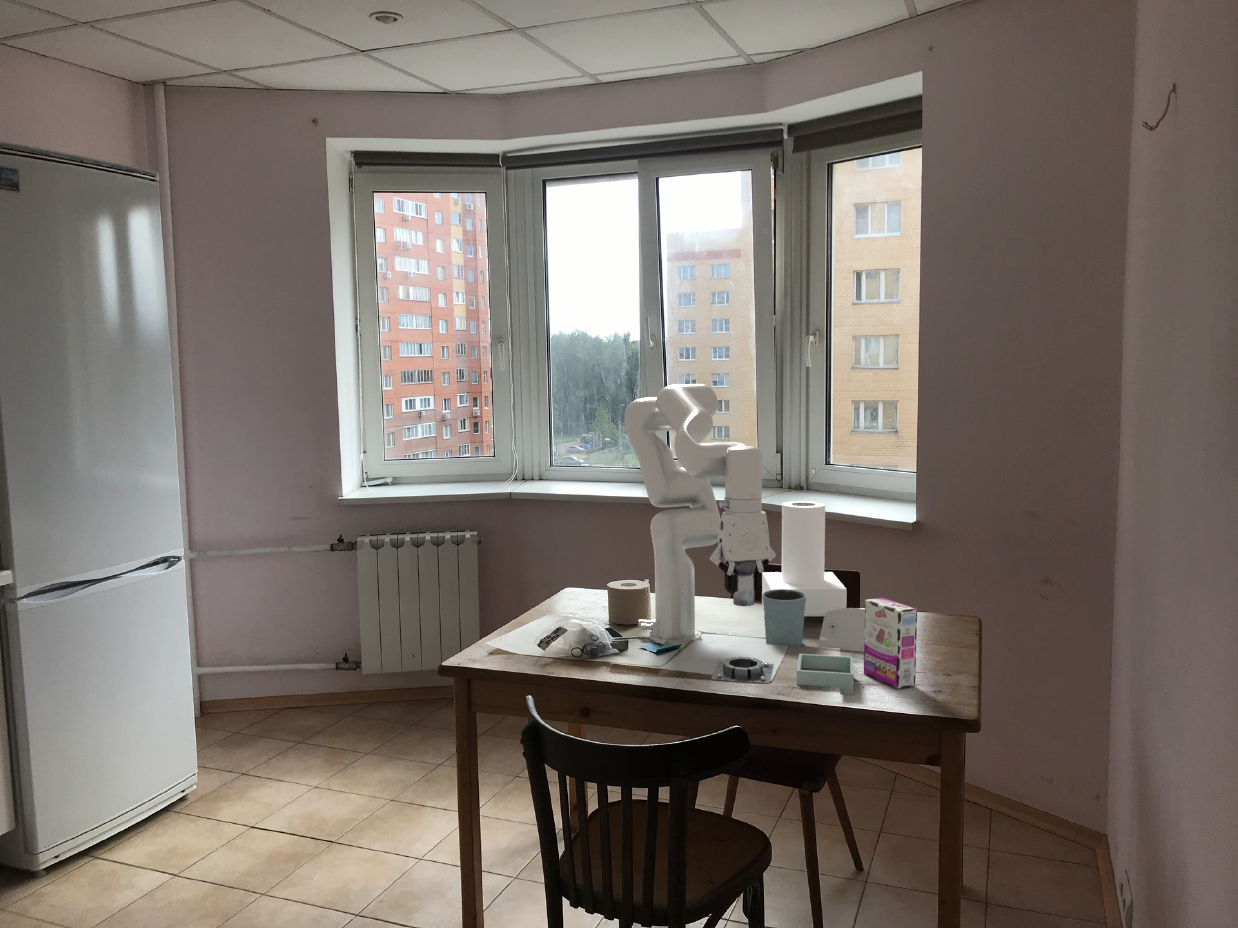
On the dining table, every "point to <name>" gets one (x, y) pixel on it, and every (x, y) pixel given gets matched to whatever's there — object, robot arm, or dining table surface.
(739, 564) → the clear and grey cylinder
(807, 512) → the paper towel holder
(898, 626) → the candy bar box
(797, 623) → the teal cup
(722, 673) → the stud mount
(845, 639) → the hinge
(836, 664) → the parts bin
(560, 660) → the dining table surface
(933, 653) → the dining table surface
